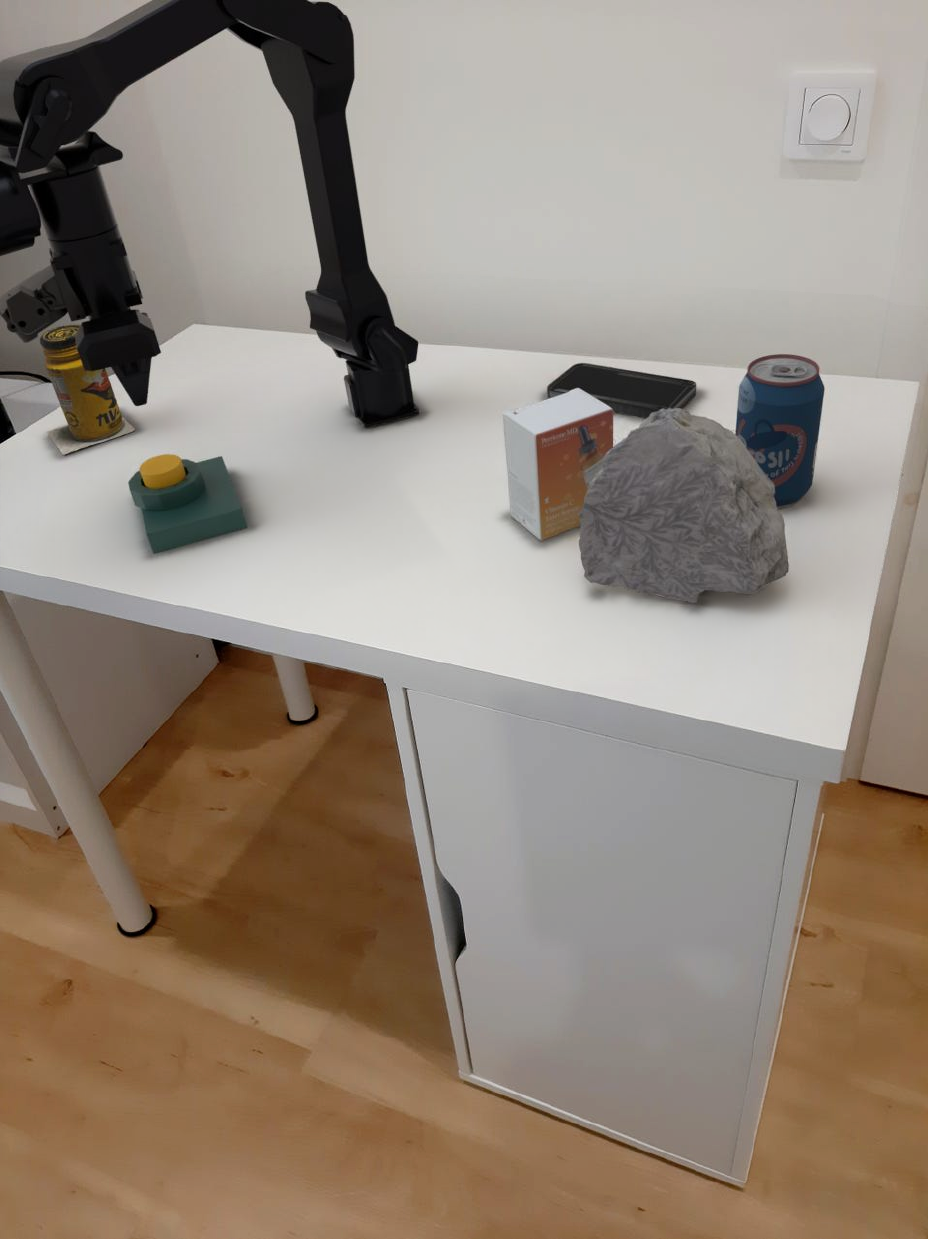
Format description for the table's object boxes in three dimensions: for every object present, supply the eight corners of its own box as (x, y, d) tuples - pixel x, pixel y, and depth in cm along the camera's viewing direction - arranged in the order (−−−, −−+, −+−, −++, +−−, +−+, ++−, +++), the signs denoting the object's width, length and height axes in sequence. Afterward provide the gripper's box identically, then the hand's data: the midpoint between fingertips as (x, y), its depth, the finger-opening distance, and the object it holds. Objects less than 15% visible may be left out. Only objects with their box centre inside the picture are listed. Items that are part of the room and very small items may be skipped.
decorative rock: (571, 590, 80) (563, 424, 71) (594, 546, 84) (590, 385, 75) (777, 622, 74) (798, 445, 65) (790, 572, 79) (811, 401, 69)
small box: (540, 543, 86) (533, 435, 79) (509, 516, 90) (499, 411, 83) (616, 514, 88) (615, 407, 82) (582, 489, 92) (578, 385, 86)
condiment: (135, 431, 113) (101, 331, 106) (63, 456, 110) (23, 355, 102) (116, 411, 118) (83, 314, 111) (47, 434, 115) (7, 336, 107)
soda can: (725, 508, 87) (734, 383, 80) (736, 470, 92) (745, 349, 85) (807, 516, 85) (824, 388, 77) (813, 476, 90) (830, 352, 82)
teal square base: (227, 474, 102) (217, 440, 100) (247, 528, 93) (237, 492, 91) (136, 498, 100) (124, 463, 98) (148, 555, 91) (135, 519, 89)
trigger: (183, 465, 97) (178, 450, 96) (188, 483, 94) (183, 467, 93) (143, 476, 96) (137, 460, 95) (147, 494, 93) (141, 478, 92)
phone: (669, 412, 100) (543, 388, 107) (668, 422, 101) (543, 398, 108) (700, 381, 105) (578, 361, 112) (699, 391, 106) (578, 370, 113)
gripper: (-16, 224, 86) (49, 388, 95) (-22, 284, 72) (55, 470, 81) (111, 198, 88) (162, 361, 98) (130, 251, 74) (187, 436, 84)
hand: (140, 404), depth 90 cm, fingers closed
